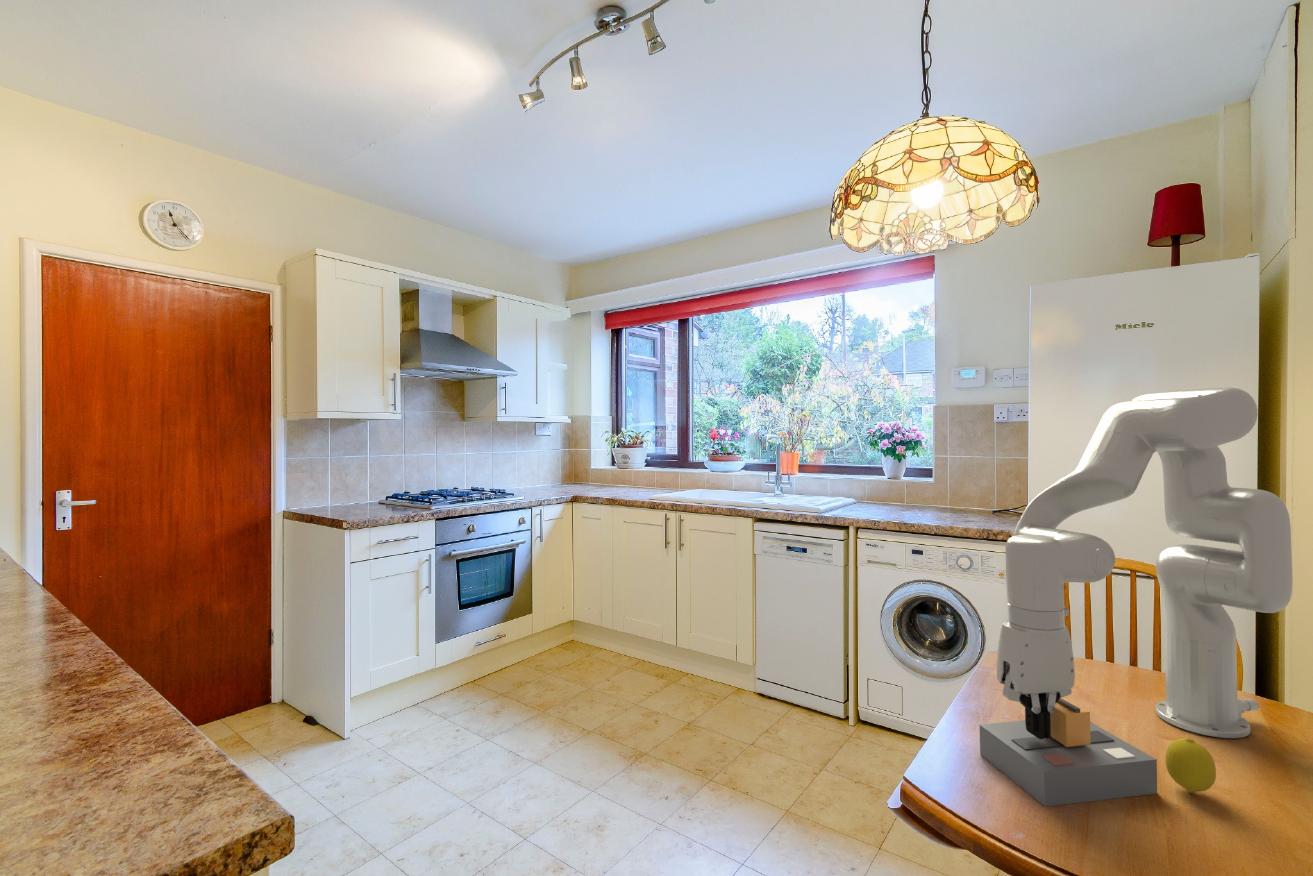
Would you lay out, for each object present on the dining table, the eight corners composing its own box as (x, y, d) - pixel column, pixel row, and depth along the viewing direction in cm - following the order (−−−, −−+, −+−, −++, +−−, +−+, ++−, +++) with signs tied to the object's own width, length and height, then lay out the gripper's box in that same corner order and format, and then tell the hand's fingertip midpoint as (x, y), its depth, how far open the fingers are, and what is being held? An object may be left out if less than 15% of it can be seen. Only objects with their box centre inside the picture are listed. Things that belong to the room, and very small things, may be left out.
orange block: (1064, 728, 96) (1063, 693, 96) (1090, 744, 91) (1089, 707, 91) (1041, 730, 96) (1040, 695, 96) (1066, 746, 91) (1065, 710, 91)
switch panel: (1078, 744, 102) (1078, 713, 102) (1157, 793, 88) (1156, 758, 88) (980, 754, 99) (979, 723, 99) (1044, 806, 86) (1044, 770, 86)
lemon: (1156, 781, 91) (1155, 729, 91) (1193, 781, 90) (1192, 728, 90) (1187, 804, 85) (1186, 748, 85) (1227, 804, 85) (1226, 747, 85)
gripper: (1060, 606, 98) (1062, 719, 98) (974, 612, 96) (977, 727, 96) (1099, 620, 90) (1102, 742, 90) (1007, 627, 88) (1010, 752, 88)
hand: (1038, 734), depth 93 cm, fingers closed
